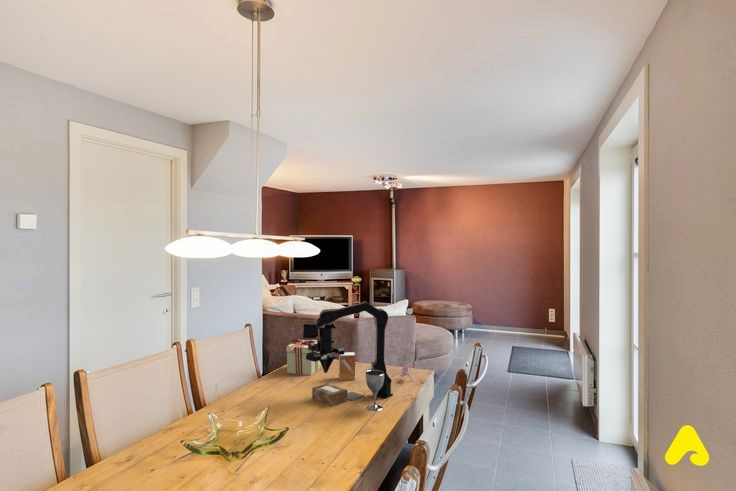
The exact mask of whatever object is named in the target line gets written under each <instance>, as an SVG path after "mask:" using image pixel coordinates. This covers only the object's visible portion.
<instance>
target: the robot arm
mask: <svg viewBox="0 0 736 491" xmlns="http://www.w3.org/2000/svg"><path fill="white" fill-rule="evenodd" d="M364 312H366V313H368V314H370V315H371V316H373V321H374V326H375V353H374V354H375V355H374V356H375V357H374V361H370V362H371V363H370V364H371V368H370V370H380V371H383V372H384V383H383V386H382V388H381V389H380V390H379V391H378V393H377V395H376V397H378V398H382V399H388V398H389V397H392V396H394V394H393V393H392V382H393V381H392V378H391V377H390V376H389V374H388V373H387V366H386V362H385V346H386V345H385V343H386V342H385V339H386V338H385V335H386V334H385V333H386V327H387V325H388V319H389V313H388V312H387V311H385V309H383V308H380V307H379V308H378V307H375V306H374V305H372V304H370V303H369V302H367V301H366V300H365V301H364V300H363V301H361V302H359V303H355V304H351V305H348V306H344V307H339V308H326V309H322V310H321V311H320V313H319V315H318V316H319V317H318V318H317V320H316V321H315V323H306V322H304V323H303V329H302V339H303V340H310V339H311V340H316V338H317V337H318V336H319V338H318V340H317V344H314V343H309V344H308V350H309V351H310V350H311V351H312V352H310V353H307V354H306V360H310V361H313V362H315V361H320V363H321V368H322V371H323V373H325V374H327V373H328V371H329V369H330V367H331V365H332V363H333V362H334V360H335V359H336V356H334V355H335V354H338V356H339V355H343V354H344V353H345V349H344V347H341V346H333V344H334V342H335V340H333V329H337V325H335V323H334V322H335V321H337V320H339V319H340V318H343V317H347V316H352V315H354V314H355V315H356V314H359V313H364ZM314 351H316V352H319V353H316V352H314Z"/></svg>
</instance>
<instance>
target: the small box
mask: <svg viewBox="0 0 736 491" xmlns="http://www.w3.org/2000/svg"><path fill="white" fill-rule="evenodd" d="M338 356H339V357H338V379H339V381H355V380H356V353H355V351H353V352H349V351H347V352H346V351H344V354H343V355H339V354H338Z"/></svg>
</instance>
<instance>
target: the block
mask: <svg viewBox="0 0 736 491" xmlns="http://www.w3.org/2000/svg"><path fill="white" fill-rule="evenodd" d="M320 389H323V390H326V391H329V392H332V393H336V392H339V391H340V390H338V389H335V388H332V387H329V386H324V387H321V388H320Z"/></svg>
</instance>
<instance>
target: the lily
mask: <svg viewBox="0 0 736 491" xmlns="http://www.w3.org/2000/svg"><path fill="white" fill-rule="evenodd" d="M410 365H411V361H410V362H408V363H407V365H406V366H402V368H401V370H400V375H399V377H398V379H397V382H396V383H397V384H398V382H399V381H400V380H401V378H402V377H407V376H408V377H409V378H410V379H411V381H412V382H413V381H414V380H413V378H412V377H411V376H410V374H409V366H410Z"/></svg>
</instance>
